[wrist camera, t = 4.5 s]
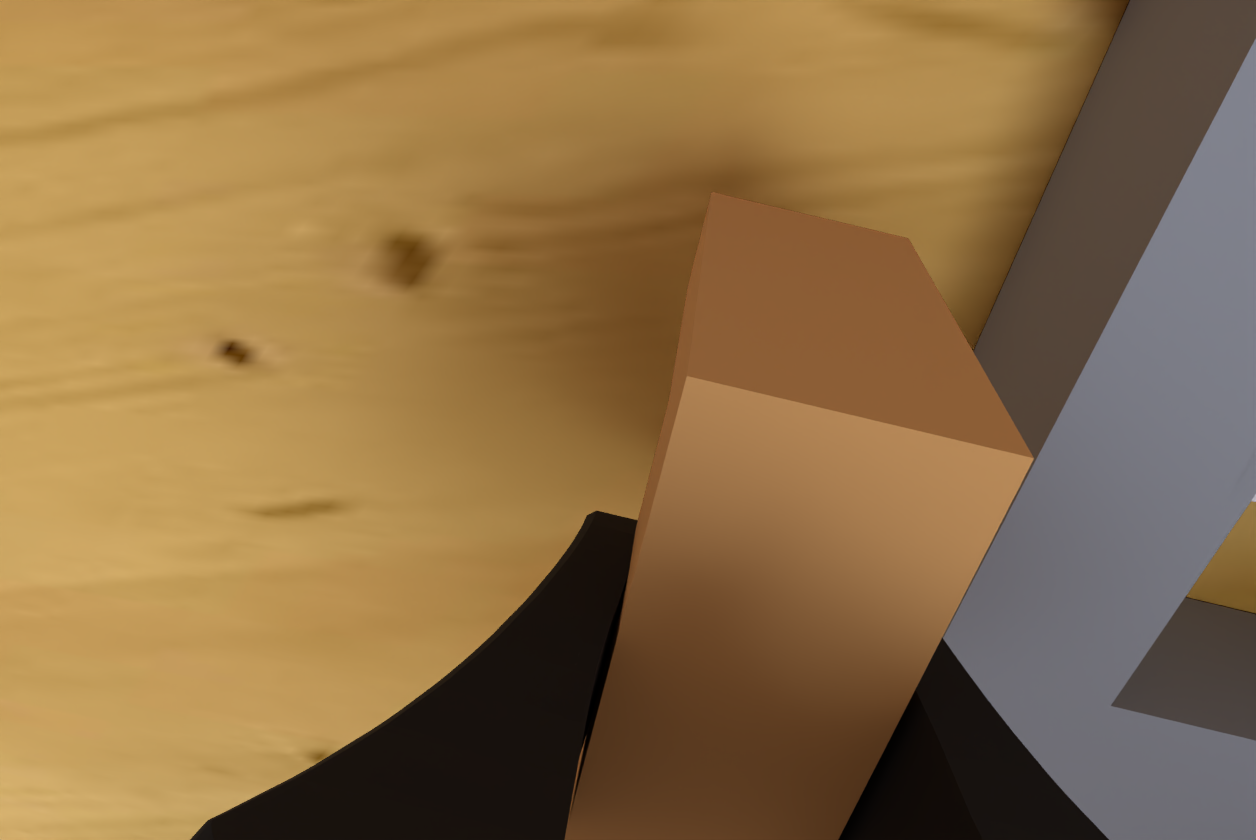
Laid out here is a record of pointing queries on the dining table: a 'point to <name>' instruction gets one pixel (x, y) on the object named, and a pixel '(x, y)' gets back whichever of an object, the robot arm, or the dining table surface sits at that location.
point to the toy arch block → (792, 535)
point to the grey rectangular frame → (1133, 440)
